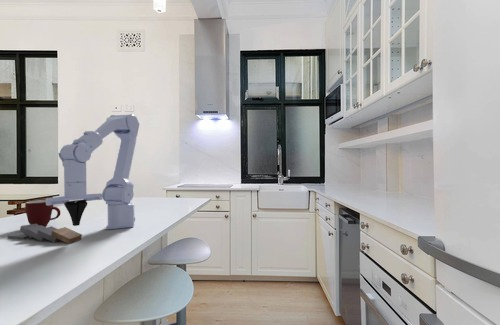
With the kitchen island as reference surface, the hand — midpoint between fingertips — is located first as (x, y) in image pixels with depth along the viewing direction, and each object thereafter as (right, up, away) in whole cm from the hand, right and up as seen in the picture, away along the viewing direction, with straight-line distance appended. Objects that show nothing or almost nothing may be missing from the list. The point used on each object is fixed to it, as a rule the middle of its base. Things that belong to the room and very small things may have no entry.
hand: (76, 225), depth 78 cm
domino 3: (-10, -5, +2) cm, 11 cm away
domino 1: (-18, -5, +4) cm, 19 cm away
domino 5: (0, -5, 0) cm, 5 cm away
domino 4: (-5, -5, +1) cm, 7 cm away
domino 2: (-15, -4, +4) cm, 17 cm away
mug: (-25, -5, +18) cm, 31 cm away
